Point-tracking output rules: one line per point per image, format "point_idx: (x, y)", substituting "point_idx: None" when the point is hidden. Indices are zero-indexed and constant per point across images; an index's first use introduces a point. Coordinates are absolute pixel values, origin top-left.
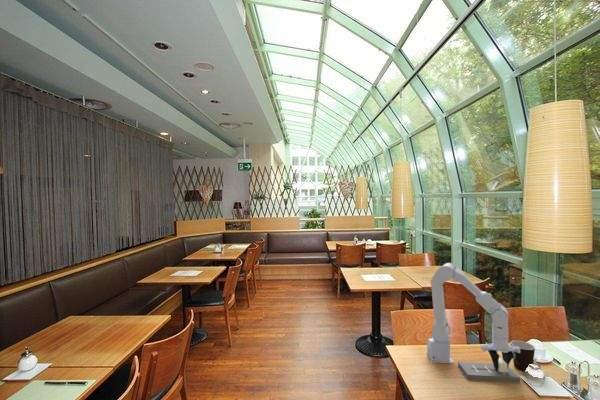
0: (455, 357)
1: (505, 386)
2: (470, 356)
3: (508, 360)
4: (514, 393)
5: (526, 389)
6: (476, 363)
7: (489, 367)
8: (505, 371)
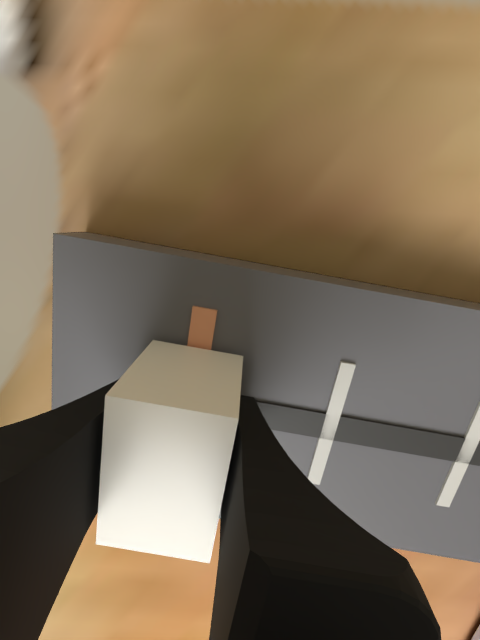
0: None
1: (299, 175)
2: None
3: (40, 437)
4: (300, 20)
5: (101, 100)
6: None
7: None
8: (170, 348)
